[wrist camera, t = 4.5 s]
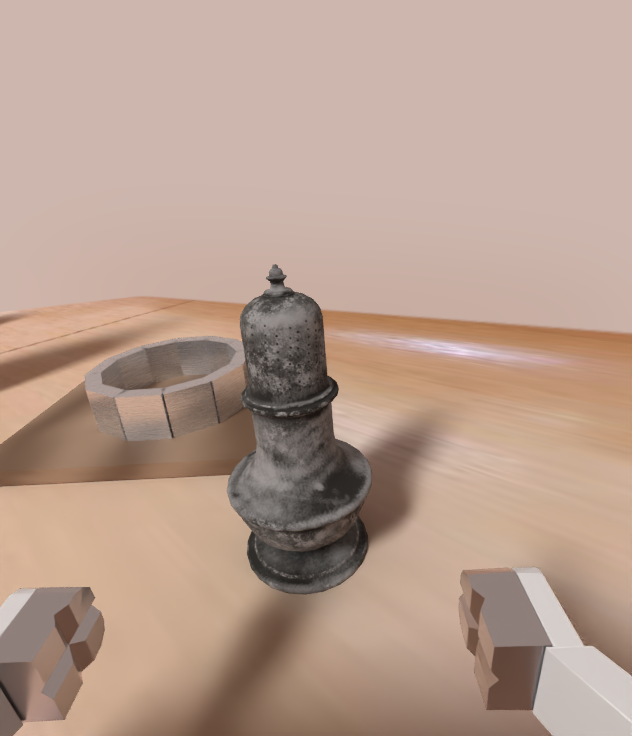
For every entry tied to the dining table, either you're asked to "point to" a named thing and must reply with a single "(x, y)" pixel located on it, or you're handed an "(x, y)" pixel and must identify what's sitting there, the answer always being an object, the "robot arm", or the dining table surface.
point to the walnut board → (117, 447)
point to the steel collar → (168, 388)
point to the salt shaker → (296, 452)
